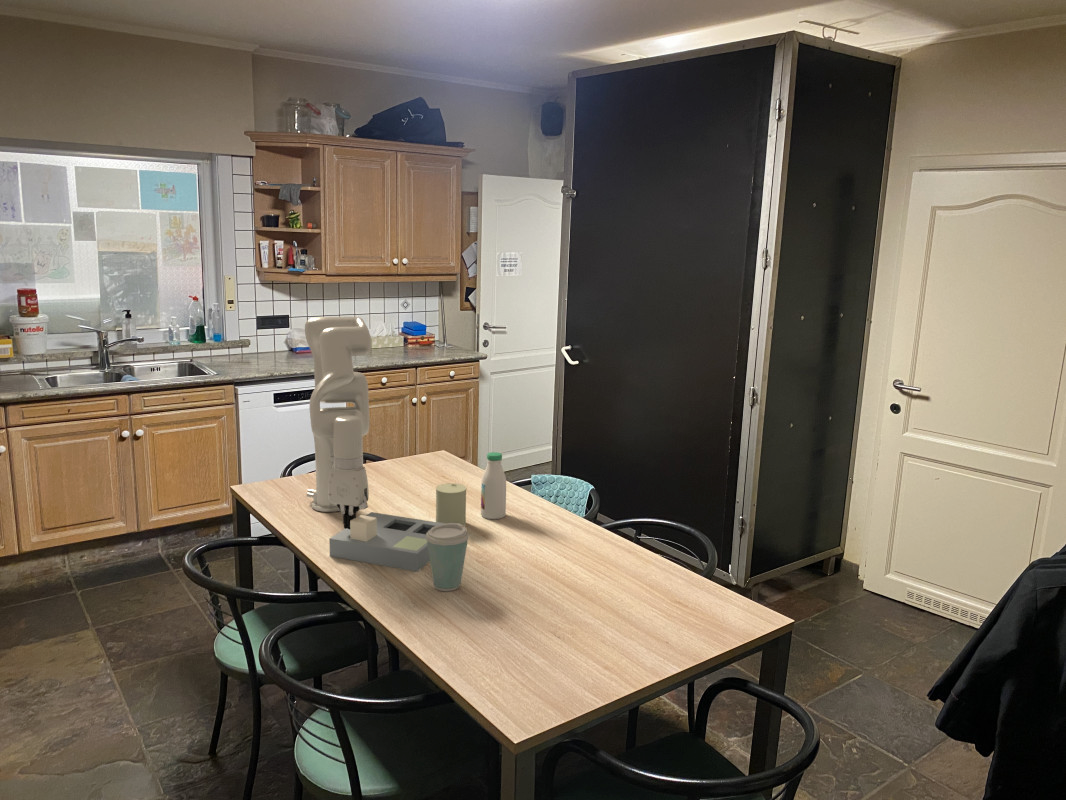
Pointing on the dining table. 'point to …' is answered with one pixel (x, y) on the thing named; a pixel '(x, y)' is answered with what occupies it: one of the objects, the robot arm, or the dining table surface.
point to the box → (388, 543)
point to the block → (363, 528)
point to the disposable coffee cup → (447, 554)
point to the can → (451, 503)
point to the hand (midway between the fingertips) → (349, 527)
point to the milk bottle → (493, 488)
